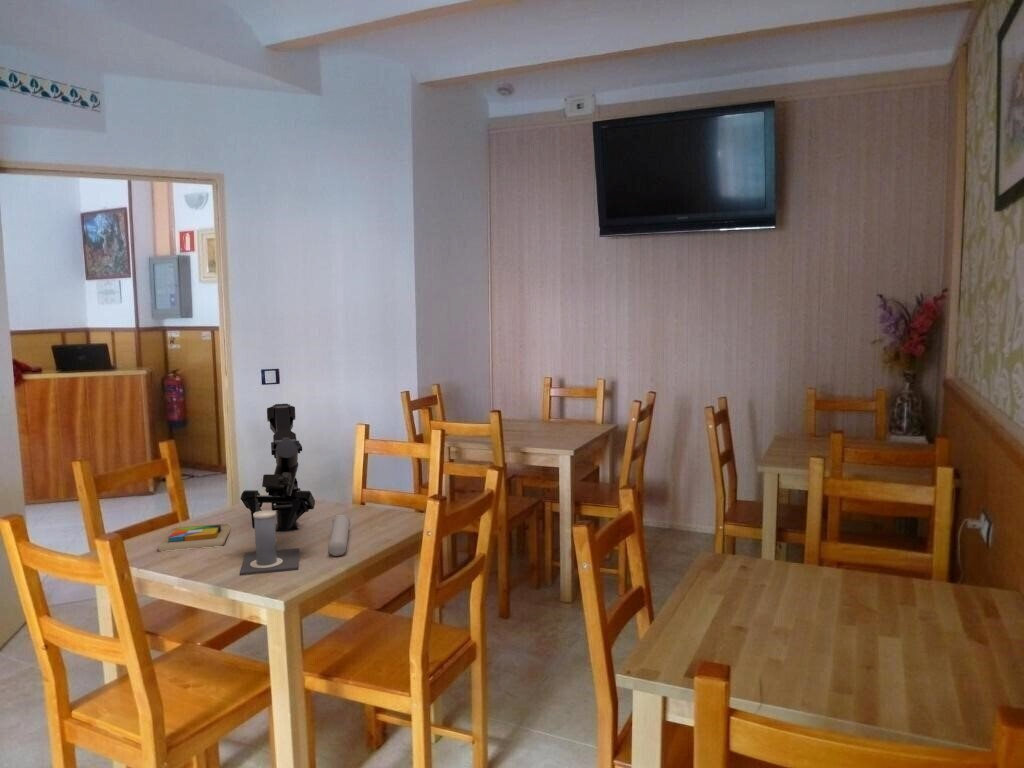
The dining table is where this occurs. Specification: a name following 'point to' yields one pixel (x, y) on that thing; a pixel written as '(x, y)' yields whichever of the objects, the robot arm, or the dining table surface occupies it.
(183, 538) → the wooden puzzle
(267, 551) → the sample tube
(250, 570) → the mat
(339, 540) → the tube
